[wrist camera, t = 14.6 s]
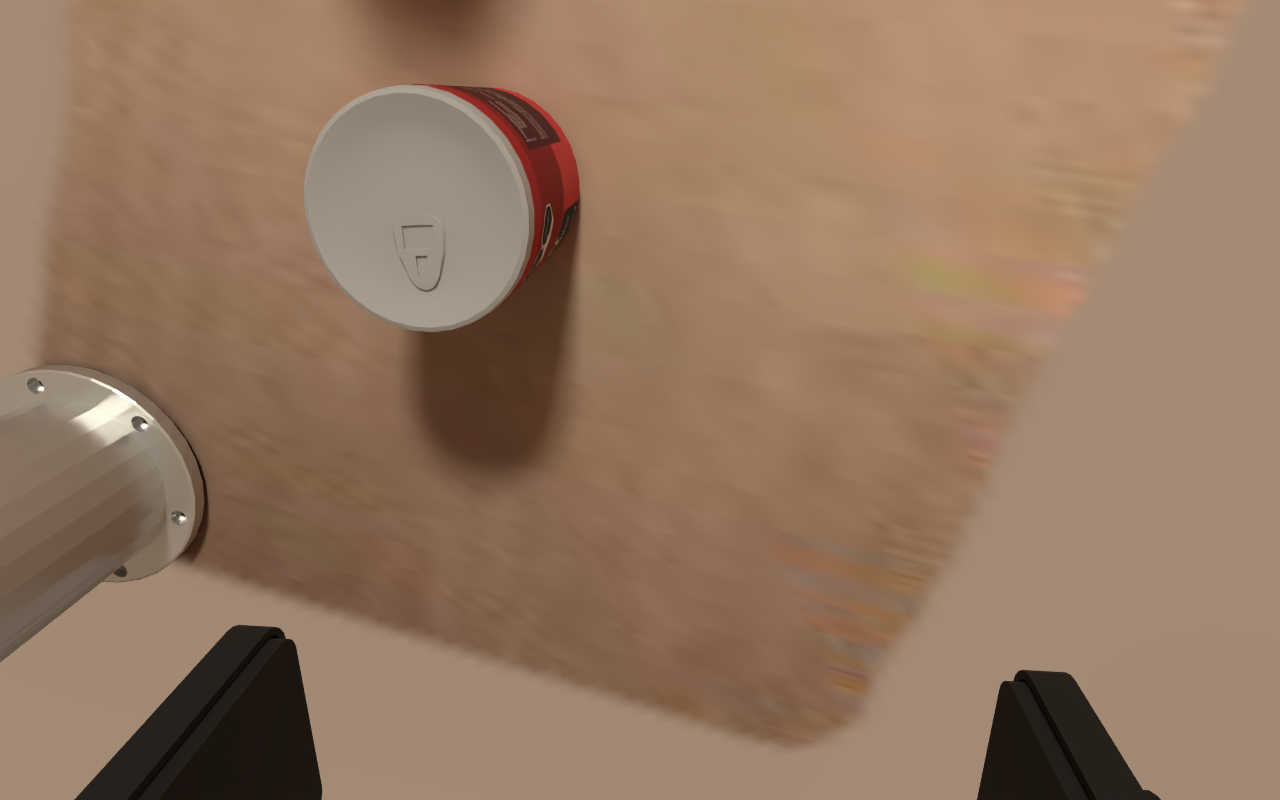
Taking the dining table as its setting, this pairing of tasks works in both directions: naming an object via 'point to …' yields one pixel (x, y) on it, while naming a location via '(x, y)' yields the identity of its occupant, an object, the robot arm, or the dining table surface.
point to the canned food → (438, 200)
